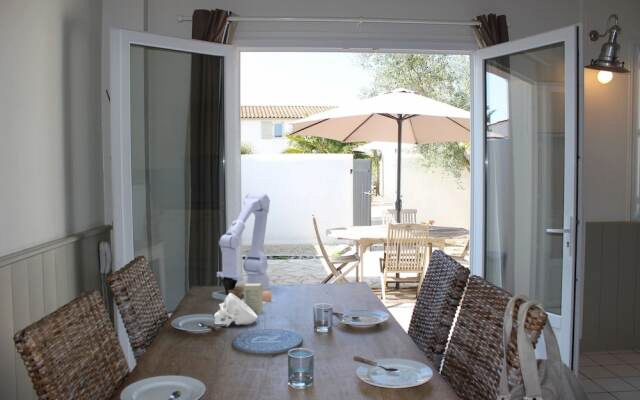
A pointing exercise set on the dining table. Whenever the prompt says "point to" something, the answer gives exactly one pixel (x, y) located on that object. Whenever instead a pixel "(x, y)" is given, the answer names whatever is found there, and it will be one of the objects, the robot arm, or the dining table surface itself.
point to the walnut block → (236, 292)
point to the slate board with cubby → (222, 296)
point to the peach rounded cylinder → (266, 296)
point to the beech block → (240, 287)
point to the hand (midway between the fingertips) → (229, 295)
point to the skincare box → (253, 297)
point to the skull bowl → (234, 312)
